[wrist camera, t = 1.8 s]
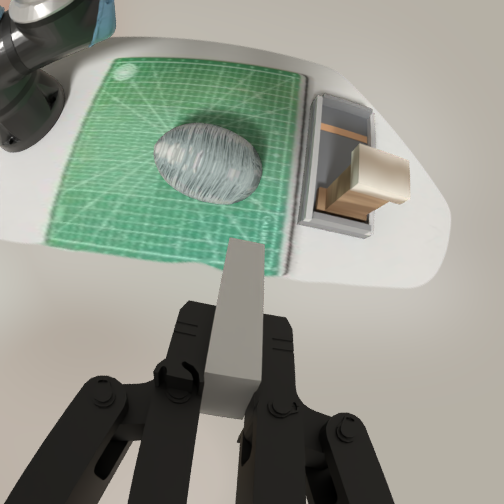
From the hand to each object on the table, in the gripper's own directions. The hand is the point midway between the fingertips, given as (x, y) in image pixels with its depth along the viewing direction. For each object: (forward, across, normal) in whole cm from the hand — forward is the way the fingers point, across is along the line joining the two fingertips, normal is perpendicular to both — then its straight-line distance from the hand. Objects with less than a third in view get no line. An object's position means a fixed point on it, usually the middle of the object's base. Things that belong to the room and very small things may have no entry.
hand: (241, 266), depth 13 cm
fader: (+25, +13, -6) cm, 29 cm away
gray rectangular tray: (+32, +12, -3) cm, 34 cm away
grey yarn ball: (+28, -5, -7) cm, 29 cm away
